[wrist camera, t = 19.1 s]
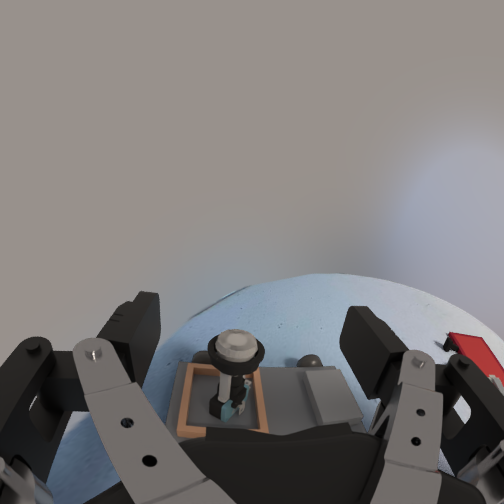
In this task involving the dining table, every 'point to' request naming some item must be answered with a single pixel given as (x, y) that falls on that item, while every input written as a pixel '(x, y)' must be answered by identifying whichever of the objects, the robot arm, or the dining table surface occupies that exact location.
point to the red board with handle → (477, 356)
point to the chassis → (263, 399)
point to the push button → (233, 370)
